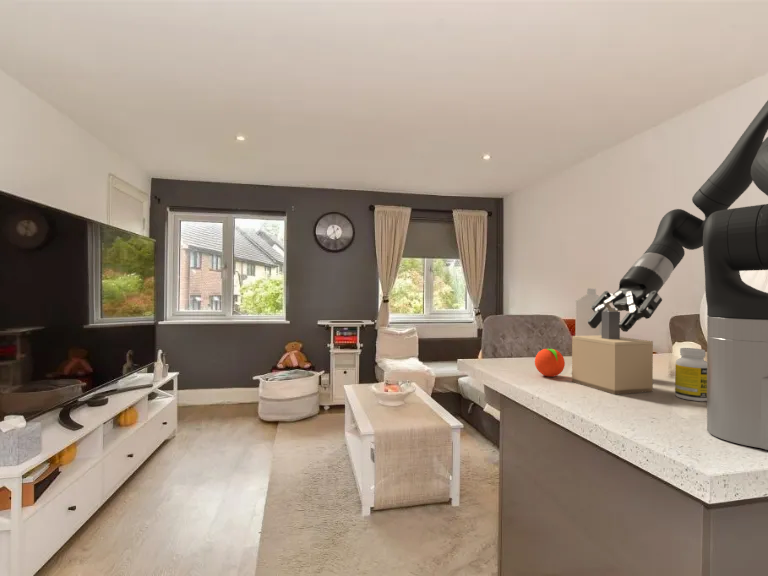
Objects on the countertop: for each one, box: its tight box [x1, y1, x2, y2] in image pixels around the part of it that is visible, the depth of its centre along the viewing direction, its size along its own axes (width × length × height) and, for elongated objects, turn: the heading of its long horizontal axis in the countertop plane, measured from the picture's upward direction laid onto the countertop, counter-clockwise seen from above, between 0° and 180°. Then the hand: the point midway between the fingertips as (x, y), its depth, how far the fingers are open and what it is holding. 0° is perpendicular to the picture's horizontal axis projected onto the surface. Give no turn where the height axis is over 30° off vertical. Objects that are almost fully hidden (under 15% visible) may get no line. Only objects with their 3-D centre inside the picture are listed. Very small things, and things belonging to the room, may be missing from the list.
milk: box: [574, 288, 608, 336], centre depth 106 cm, size 6×6×22 cm
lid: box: [572, 311, 654, 345], centre depth 89 cm, size 12×10×7 cm
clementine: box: [534, 347, 566, 378], centre depth 99 cm, size 8×7×7 cm
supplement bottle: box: [674, 347, 707, 402], centre depth 80 cm, size 5×5×10 cm
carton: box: [571, 339, 654, 395], centre depth 89 cm, size 12×10×10 cm
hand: (605, 327), depth 89 cm, fingers open, 8 cm apart
